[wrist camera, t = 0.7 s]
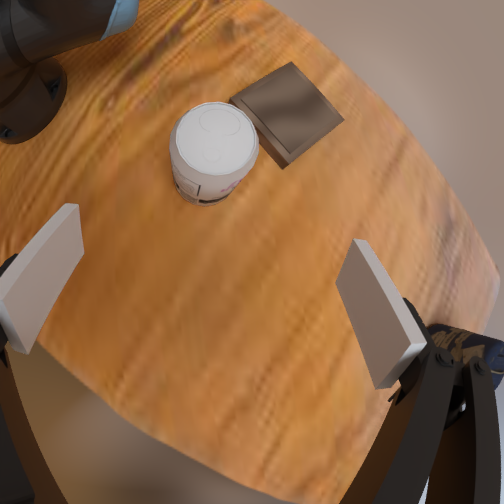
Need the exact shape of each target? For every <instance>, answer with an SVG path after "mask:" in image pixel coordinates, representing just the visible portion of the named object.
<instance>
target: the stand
mask: <svg viewBox="0 0 504 504" xmlns="http://www.w3.org/2000/svg"><path fill="white" fill-rule="evenodd" d="M228 104H231V105H233V106H235V107H236V108H238V109H240V110H241V111H243V112H244V113H245V114H246V116H247V117H248V118H249V119H250V120H251V121H252V124H253V125H254V127H255V130H256V132H257V135H258V138H259V143H260V145H261V146H262V147H263V148H264V149H265V150H266V151H267V152H268V154H269V155H270V156H271V157H272V158H273V159H274V161H275V162H276V163H277V164H278V165H279V166H280V168H281V169H282V170H283V169H284V168H285V167H286V166H288V165H289V164H290V163H291V162H293V161H294V160H295V159H296V158H298V157H299V156H300V155H301V154H302V153H304V152H305V151H306V150H307V149H309V148H310V147H311V146H312V145H314V144H315V143H316V142H317V141H319V140H320V139H321V138H322V137H324V136H325V135H326V134H327V133H329V132H330V131H331V130H333V129H334V128H335V127H336V126H338V125H339V124H340V123H341V122H343V121H344V119H343V117H342V116H341V115H340V114H339V113H338V111H337V110H336V109H335V108H334V107H333V106H332V104H331V103H330V102H329V101H328V100H327V99H326V98H325V96H324V95H323V94H322V93H321V92H320V91H319V90H318V89H317V88H316V87H315V85H314V84H313V83H312V82H311V81H310V80H309V79H308V78H307V77H306V76H305V75H304V74H303V73H302V72H301V71H300V70H299V69H298V68H297V67H296V66H295V65H294V64H293V63H292V62H289V63H288V64H286V65H284V66H282V67H280V68H279V69H277V70H275V71H273V72H272V73H270V74H268V75H267V76H265V77H263V78H262V79H260V80H258V81H257V82H255V83H253V84H252V85H250V86H248V87H247V88H245V89H244V90H242V91H241V92H239V93H237V94H236V95H234V96H233V97H231V98H230V100H229V103H228Z"/></svg>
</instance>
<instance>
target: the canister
mask: <svg viewBox="0 0 504 504" xmlns="http://www.w3.org/2000/svg"><path fill="white" fill-rule="evenodd" d="M428 332H429V334H430V336H431V337H432V339H433V341H434V343H435V345H436V347H442V348H444V349H446V350H447V351H449V352H450V353H451V354H452V356H453V357H454V359H455V361H457V362H461V363H465V364H466V363H467V362H468V361H469V360H470V358H471V357H473V356H478V357H480V358H482V359H484V360H485V361H486V362H487V364H488V365H489V367H490V370H491V374H492V379H493V385H494V390H495V389H496V388H497V387H498V385H499V384H500V382H501V380H502V378H503V376H504V342H503V341H501V340H497V339H494V338H490V337H487V336H483V335H480V334H476V333H473V332H470V331H467V330H464V329H459V328H455V327H451V326H447V325H443V324H437V325H434V326H432V327H430V328H429V329H428Z"/></svg>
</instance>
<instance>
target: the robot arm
mask: <svg viewBox="0 0 504 504" xmlns="http://www.w3.org/2000/svg"><path fill="white" fill-rule="evenodd" d="M138 6H139V0H0V141H1V142H3V143H7V144H17V143H21V142H24V141H26V140H28V139H30V138H32V137H33V136H35V135H36V134H38V133H39V132H40V131H41V130H42V129H44V128H45V127H46V126H47V125H48V123H49V122H50V121H51V120H52V119H53V117H54V116H55V115H56V113H57V112H58V110H59V108H60V106H61V104H62V102H63V100H64V97H65V94H66V89H67V78H66V74H65V71H64V70H63V68H62V66H61V65H60V63H59V62H58V61H57V60H56V59H55V58H53V56H55V55H58V54H60V53H63V52H66V51H68V50H71V49H74V48H77V47H80V46H83V45H86V44H89V43H92V42H95V41H102V40H104V39H105V38H106V37H109V36H112V35H115V34H118V33H121V32H124V31H126V30H128V29H129V28H130V27H132V26H133V24H134V23H135V21H136V18H137V14H138ZM83 255H84V247H83V240H82V232H81V223H80V214H79V204H70V203H65V204H64V205H63V206H62V207H61V208H60V209H59V210H58V211H57V212H56V213H55V214H54V215H53V216H52V217H51V218H50V219H49V220H48V222H47V223H46V224H45V225H44V226H43V227H42V228H41V229H40V230H39V231H38V232H37V234H36V235H35V236H34V237H33V238H32V239H31V240H30V242H29V243H28V244H27V245H26V246H25V247H24V249H23V250H22V251H21V252H20V253H19V254H14V255H13V256H11V257H10V258H8V259H7V260H6V261H5V262H4V263H3V265H2V266H1V267H0V504H68V503H67V501H66V499H65V497H64V496H63V494H62V493H61V490H60V489H59V487H58V485H57V483H56V481H55V479H54V477H53V476H52V474H51V472H50V470H49V468H48V466H47V464H46V462H45V459H44V457H43V455H42V453H41V451H40V449H39V446H38V444H37V442H36V439H35V437H34V434H33V432H32V430H31V427H30V425H29V422H28V419H27V416H26V414H25V411H24V408H23V406H22V402H21V399H20V396H19V393H18V390H17V387H16V383H15V380H14V376H13V373H12V369H11V365H10V361H9V357H8V353H7V351H6V349H5V345H6V343H7V341H9V343H10V344H11V346H12V348H13V350H15V351H18V352H21V353H24V354H27V355H28V354H29V352H30V350H31V348H32V346H33V344H34V342H35V340H36V338H37V336H38V334H39V332H40V330H41V328H42V326H43V324H44V322H45V320H46V318H47V316H48V314H49V312H50V311H51V309H52V307H53V305H54V303H55V301H56V300H57V298H58V296H59V294H60V293H61V291H62V289H63V287H64V286H65V284H66V282H67V281H68V279H69V277H70V276H71V274H72V272H73V271H74V269H75V267H76V266H77V264H78V263H79V261H80V259H81V258H82V256H83ZM335 283H336V286H337V288H338V291H339V293H340V296H341V298H342V301H343V303H344V306H345V308H346V311H347V313H348V316H349V318H350V321H351V324H352V326H353V329H354V331H355V334H356V337H357V339H358V342H359V345H360V348H361V350H362V353H363V356H364V359H365V361H366V364H367V367H368V370H369V373H370V376H371V378H372V381H373V384H374V387H375V389H384V388H391V387H392V386H393V385H394V383H395V382H396V381H397V380H398V379H399V381H400V384H401V386H400V387H399V389H398V390H397V391H396V392H395V393H394V394H393V395H392V396H391V397H390V398H389V400H388V402H390V401H391V400H392V399H393V402H392V404H391V406H390V409H389V411H388V413H387V415H386V418H385V420H384V422H383V424H382V426H381V429H380V431H379V433H378V435H377V437H376V439H375V441H374V443H373V445H372V447H371V449H370V451H369V453H368V455H367V457H366V459H365V460H364V462H363V464H362V466H361V468H360V470H359V471H358V473H357V475H356V477H355V478H354V480H353V482H352V483H351V485H350V487H349V489H348V490H347V492H346V493H345V495H344V497H343V498H342V500H341V501H340V503H339V504H418V503H419V500H420V498H421V496H422V493H423V491H424V488H425V485H426V483H427V480H428V477H429V482H428V489H427V495H426V501H425V504H500V491H501V451H500V435H499V423H498V413H497V406H496V399H495V391H494V385H493V379H492V374H491V370H490V367H489V365H488V364H487V362H486V361H485V360H484V359H482V358H480V357H478V356H473V357H471V358H470V360H469V361H468V362H467V363H466V364H465V363H461V362H457V361H455V359H454V357H453V356H452V354H451V353H450V352H449V351H447V350H446V349H444V348H442V347H436V345H435V343H434V341H433V339H432V337H431V336H430V334H429V332H428V330H427V328H426V327H425V325H424V323H422V322H423V321H422V319H421V318H420V316H418V315H419V314H418V313H417V311H416V309H415V307H414V306H413V305H412V304H411V303H410V302H409V301H408V300H407V299H406V298H402V297H401V295H400V293H399V292H398V290H397V288H396V287H395V285H394V283H393V282H392V280H391V278H390V277H389V275H388V273H387V272H386V270H385V269H384V267H383V265H382V264H381V262H380V261H379V259H378V258H377V256H376V254H375V253H374V251H373V250H372V248H371V247H370V245H369V244H368V242H367V241H366V240H360V239H354V238H353V240H352V243H351V245H350V248H349V250H348V253H347V255H346V258H345V260H344V263H343V265H342V268H341V270H340V273H339V275H338V277H337V280H336V282H335ZM464 403H465V404H466V407H465V410H464V411H462V405H463V404H464Z"/></svg>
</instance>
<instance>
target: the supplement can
mask: <svg viewBox="0 0 504 504" xmlns="http://www.w3.org/2000/svg"><path fill="white" fill-rule="evenodd" d="M169 151H170V158H171V165H172V172H173V179H174V183H175V186H176V189H177V191H178V192H179V193H180V195H181V196H182V197H183V198H184V199H185V200H187V201H189V202H190V203H192V204H194V205H200V206H210V205H215V204H217V203H219V202H221V201H223V200H225V199H226V198H227V196H228V195H229V194H230V193H231V192H232V191H233V190H234V188H235V187H236V186H237V185H238V184H239V182H240V181H241V180H242V179H243V178H244V177H245V175H246V174H247V173H248V172H249V171H250V170H251V168H252V167H253V166H254V163H255V161H256V158H257V156H258V153H259V138H258V135H257V132H256V130H255V127H254V125H253V124H252V121H251V120H250V119H249V118H248V117H247V116H246V114H245V113H244V112H243V111H241V110H240V109H238V108H236V107H235V106H233V105H231V104H226V103H222V102H210V103H204V104H201V105H199V106H197V107H194V108H192V109H191V110H188V111H187V112H186V113H185V114H184V115H183V116H182V117H181V118H180V119H178V120H177V122H176V124H175V126H174V128H173V130H172V132H171V134H170V146H169Z"/></svg>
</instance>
